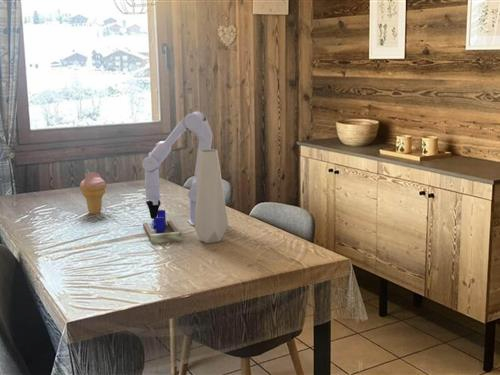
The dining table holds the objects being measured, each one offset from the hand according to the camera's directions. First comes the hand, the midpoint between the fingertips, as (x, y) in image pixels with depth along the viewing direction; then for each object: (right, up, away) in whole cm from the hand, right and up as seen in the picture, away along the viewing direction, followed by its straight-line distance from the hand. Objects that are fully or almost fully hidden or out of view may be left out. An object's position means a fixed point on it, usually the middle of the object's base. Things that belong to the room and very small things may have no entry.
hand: (153, 218), depth 247 cm
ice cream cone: (-27, +1, +14) cm, 31 cm away
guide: (+5, -5, -17) cm, 18 cm away
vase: (+25, -7, -25) cm, 36 cm away
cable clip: (+4, -4, -10) cm, 12 cm away
